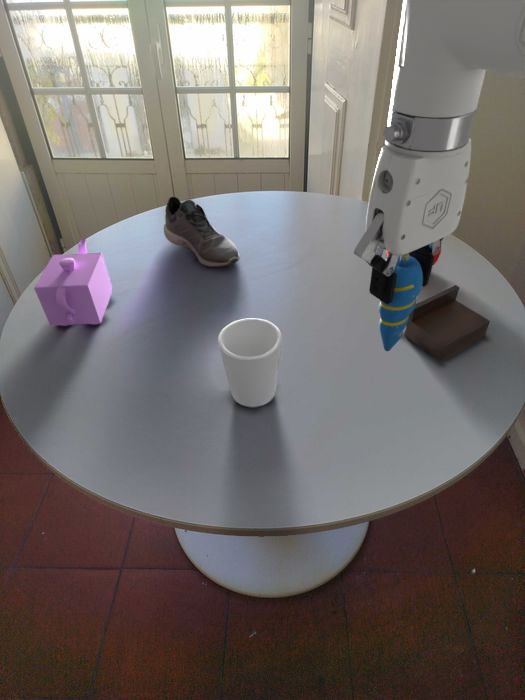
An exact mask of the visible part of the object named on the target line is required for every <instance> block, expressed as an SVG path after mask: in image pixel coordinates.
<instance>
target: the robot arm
mask: <svg viewBox="0 0 525 700" xmlns="http://www.w3.org/2000/svg"><path fill="white" fill-rule="evenodd" d="M396 47H397V48H396V56H395V63H394V71H393V79H392V85H391V86H392V88H391V95H390V103H389V109H388V117H387V125H386V127H385V128H384V130H383V134H382V135H383V139H384V145H383V146H382V147H381V150H380V154H379V156H378V160H377V164H376V167H375V171H374V175H373V179H372V184H371V188H370V193H369V199H368V204H367V211H366V218H365V232H364V233H363V235H362V237H361V238H360V240H359V242H358V243H357V245H356V246H355V247H354V250H353V254H354V256H356V257H357V258H358V257H359V258H360V259H361V260H362V261H365V263H367V264H368V266H369V267H370V268H371V275H370V283H369V288H368V289H369V290H368V291H369V294H371V296H373V297H375V298H377V299H378V300H379V301H380V300H381V301H382V302H384V303H385V304H389V303H391V302H392V300H393V295H394V289H395V284H396V278H397V274H396V273H394V272H393V271H394V269H395V266H396V264H397V261H398V259H399V256H401V255H404V254H407V253H409V256H411V257H413V258H415V259H416V260H417V261H418V262H419V263H420V266H421V269H422V274H423V284H422V287H426V286H428V285H429V283H430V278H431V274H432V271H433V270H432V269H433V266H434V265H433V261H434V256H432V255H436V254H437V253H438V252H439V250H440V242H441V243H442V241H443V239H444V238H445V237H448V236H450V235H451V234H453V233H454V232H455V231H456V230H457V228H458V227H459V223H460V220H461V216H462V212H463V207H464V203H465V198H466V195H467V194H466V193H467V188H468V183H469V175H470V169H471V158H472V139H471V133H472V129H473V125H474V121H475V117H476V112H477V108H478V105H479V101H480V100H479V99H480V95H481V91H482V88H483V84H484V80H485V75H486V71H487V72H491V73H495V74H498V75H499V74H500V75H504V76H507V77H511V78H516V79H522V80H525V0H402V9H401V17H400V24H399V32H398V39H397V46H396ZM386 250H387V251H388V252H389V255H388V256H387V258H386V259H387V261H385V260H386V259H385V258H383V253H384V251H386Z"/></svg>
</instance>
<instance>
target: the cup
mask: <svg viewBox="0 0 525 700" xmlns="http://www.w3.org/2000/svg"><path fill="white" fill-rule="evenodd" d="M282 342H283V335H282V332H281V330H280V329H279V328H278V327H277V326H276V325H275V324H274V323H273V322H271V321H269V320H267V319H262V318H255V317H254V318H252V317H250V318H242V319H238V320H234V321H232V322H231V323H229V324H227V325H226V326H225V327H223V328H222V330H221V331H220V332H219V334H218V337H217V343H218V347H219V348H218V349H219V352H220V356H221V359H222V363H223V368H224V370H225V374H226V375H225V376H226V378H227V382H228V387H229V390H230V393H231V396H232V399H233V401H234V402H235V403H236V404H237V403H238V404H240V405H241V406H244V407H246V408H250V409H251V410H255V409H257V408H259V407H261V406H264V405H266V404H268V403H271V402H272V401H273V400H274V398H275V395H276V393H277V386H278V385H277V384H278V378H279V377H278V376H279V368H280V360H281V351H282Z"/></svg>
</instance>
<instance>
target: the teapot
mask: <svg viewBox="0 0 525 700" xmlns="http://www.w3.org/2000/svg"><path fill="white" fill-rule="evenodd" d="M77 247H78V249H77V253H62V254H53V255H52V256H51V258H50V259H49V261H48V262H47V265H46V266H45V268H44V269H43V271H42V272H41V275H40V277H39V278H38V280H37V281H36V283H35V285H34V291H35V294H36V296H37V298H38V301H39V303H40V305H41V308H42V310H43V312H44V315H45V317H46V319H47V322H48V324H49V326H62V327H68V326H71V325H72V326H73V325H93V326H94V325H95V326H96V325H99V324H101V323H102V322H103V318H104V316H105V313H106V310H107V307H108V305H109V303H110V300H111V296H112V293H113V291H114V288H113V284H112V281H111V278H110V274H109V271H108V268H107V264H106V261H105V257H104V254H103V253H102V252H88V249H87V239H86V238H82V239H81V240H79V243H78V246H77Z"/></svg>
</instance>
